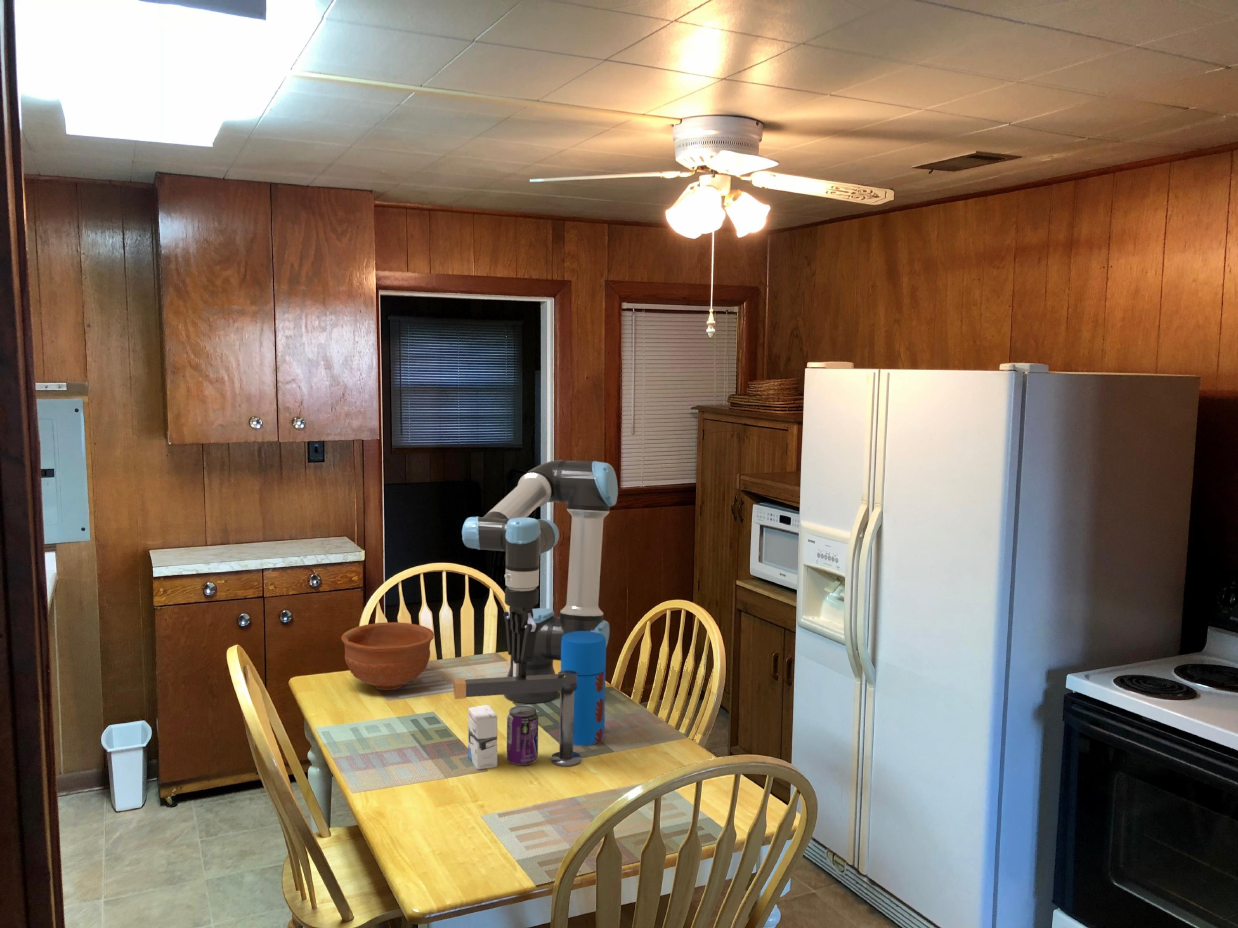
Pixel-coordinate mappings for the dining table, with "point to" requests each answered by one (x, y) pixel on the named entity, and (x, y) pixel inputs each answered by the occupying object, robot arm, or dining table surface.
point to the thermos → (586, 683)
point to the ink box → (482, 736)
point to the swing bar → (515, 685)
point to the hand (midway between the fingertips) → (519, 688)
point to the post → (566, 733)
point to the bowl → (387, 653)
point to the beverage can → (522, 735)
